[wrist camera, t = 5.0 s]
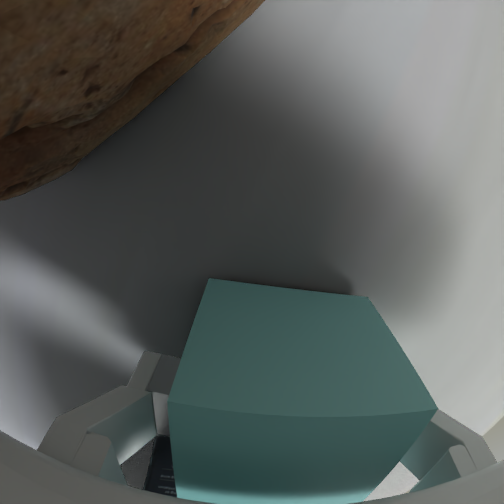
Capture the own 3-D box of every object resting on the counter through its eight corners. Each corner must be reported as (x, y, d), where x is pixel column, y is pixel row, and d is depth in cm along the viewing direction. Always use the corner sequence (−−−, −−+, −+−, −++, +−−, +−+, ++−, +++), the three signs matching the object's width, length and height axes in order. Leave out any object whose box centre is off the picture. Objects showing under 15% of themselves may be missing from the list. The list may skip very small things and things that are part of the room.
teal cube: (327, 405, 11) (351, 512, 6) (201, 395, 11) (178, 507, 6) (367, 296, 9) (437, 408, 4) (208, 277, 9) (167, 400, 4)
